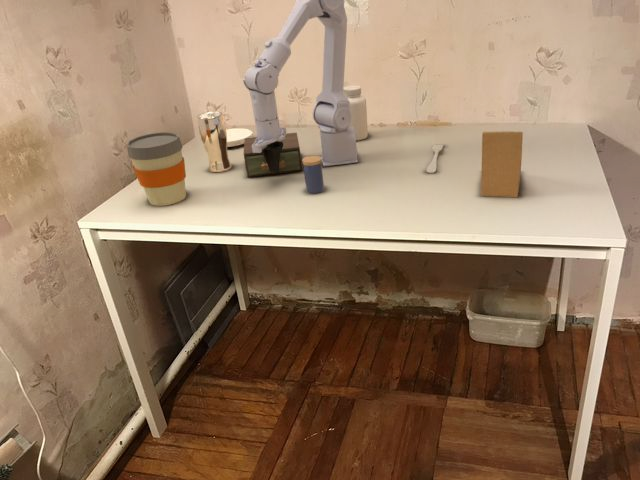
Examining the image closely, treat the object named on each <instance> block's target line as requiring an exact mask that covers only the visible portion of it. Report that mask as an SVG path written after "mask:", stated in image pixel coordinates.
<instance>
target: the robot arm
mask: <svg viewBox="0 0 640 480" xmlns="http://www.w3.org/2000/svg"><path fill="white" fill-rule="evenodd" d="M346 12H347V11H346V8H345V0H295V3H294V6H293V8H292V9H291V11H290V13H289V15H288V17H287V19H286V21H285V23H284V24H283V26H282V28H281V30H280V32H279V34H278V36H277V37H273V38H270V39H269V40H266V41H265V43H264V49H263V51H262V52H261V53H260V55H259V57H258V59H256V60H255V61H254V65H252V66H251V67H249V68H248V69H247V70H246V72H245V74H244V79H243V80H242V82H243V85H244V87H245V88H246V89H247V91H248V92H249V96H250V100H251V106H252V111H253V112H252V113H253V118H254V124H255V131H256V135H257V136H256V137H257V138H256V140H255V142H254V144H252V150H253V153H262V155H263V156H264V158H265V160H266V162H267V164H268V167H269V170H270V172H278V171H279V160H280V154H281V150H282V148H283V142H277V141H278V140H283V139H285V136H286V135H287V128H286V127H284V126H283V127H281V125H280V120H279V113H278V107H277V100H276V93H275V90H276V89H277V88H278V85H279V76H280V73H281V71H282V70H283V68H284V66H285V64H286V63H287V61H288V60H289V58H290V57H291V55H292V50H291V45H292V44H293V43H294V41H295V40H296V38H297V37H298V35H299V34H300V33H301V31H302V30H303V29H304V27H305V26H306V24H307V23H308V22H309V20H311V19H315V18H317V19H318V20H319V21H320V22H321V23H322V25H323V26H324V37H323V38H324V39H323V62H322V63H323V64H322V83H321V85H322V86H321V87H322V88H321V91H320V93H319V94H317V96H316V98H315V101H316V102H315V105H314V107H313V110H312V119H313V121H314V122H315V124H317V125H318V129H319V135H320V143H321V153H322V155H320V157H321V161H322V162H321V164H322V167H331V166H341V165H349V164H356V163H358V162H359V160H358V148H357V141H356V136H355V130H354V127H348V126H349V125H350V123H351V118H352V115H351V111H350V102H349V100H348V99H347V97H346V96H345V94H344V93H343V88H344V87H345V86H344V85H345V84H344V83H345V67H346V51H347V50H346V47H347V31H348V16H347V13H346Z"/></svg>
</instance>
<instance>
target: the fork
mask: <svg viewBox="0 0 640 480" xmlns="http://www.w3.org/2000/svg"><path fill="white" fill-rule="evenodd" d="M443 148H444V144H432V147H431V149H432V151H434V155H433V157H432V160H431V161H430V163H429V164H428V166H427V167H426V173H427V174H435V173H436V172H437V169H438V165H437V163H438V155H439V152H441V151H442V150H443Z"/></svg>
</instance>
